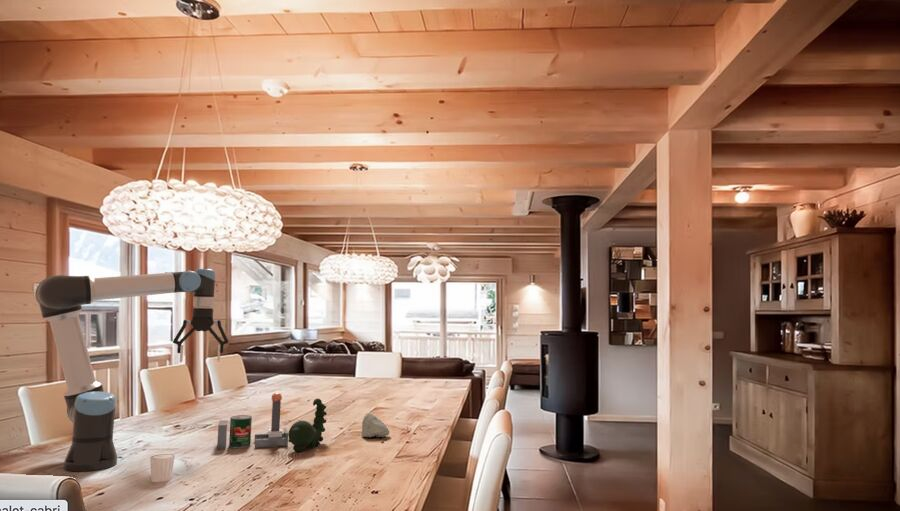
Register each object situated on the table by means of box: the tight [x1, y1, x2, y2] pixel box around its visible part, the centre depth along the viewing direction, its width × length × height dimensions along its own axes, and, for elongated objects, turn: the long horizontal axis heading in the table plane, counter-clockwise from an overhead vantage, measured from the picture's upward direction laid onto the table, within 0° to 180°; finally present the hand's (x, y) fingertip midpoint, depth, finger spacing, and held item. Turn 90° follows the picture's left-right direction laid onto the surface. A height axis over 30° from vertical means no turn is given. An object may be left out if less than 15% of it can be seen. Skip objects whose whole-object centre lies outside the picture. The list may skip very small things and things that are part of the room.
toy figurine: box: [288, 398, 328, 453], centre depth 224 cm, size 9×19×25 cm
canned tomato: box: [228, 414, 253, 449], centre depth 225 cm, size 8×8×11 cm
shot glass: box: [149, 453, 176, 483], centre depth 179 cm, size 7×7×7 cm
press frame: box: [216, 419, 289, 451], centre depth 227 cm, size 11×26×9 cm, turn 109°
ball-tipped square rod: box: [267, 392, 283, 439], centre depth 230 cm, size 7×5×20 cm
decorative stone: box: [361, 413, 390, 438], centre depth 246 cm, size 13×11×10 cm
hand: (199, 361), depth 229 cm, fingers open, 13 cm apart
